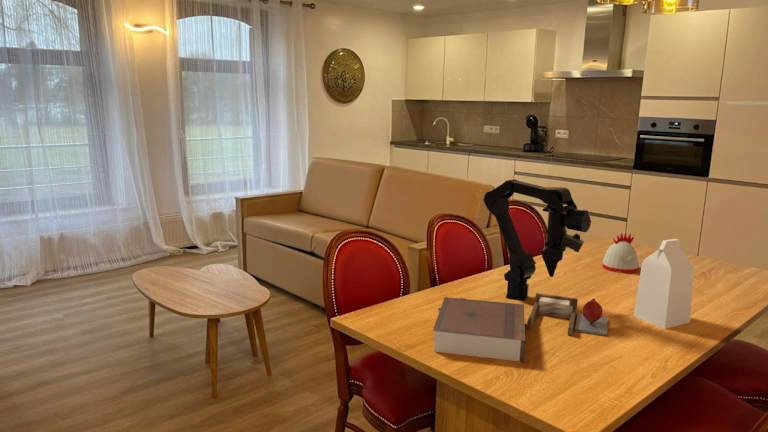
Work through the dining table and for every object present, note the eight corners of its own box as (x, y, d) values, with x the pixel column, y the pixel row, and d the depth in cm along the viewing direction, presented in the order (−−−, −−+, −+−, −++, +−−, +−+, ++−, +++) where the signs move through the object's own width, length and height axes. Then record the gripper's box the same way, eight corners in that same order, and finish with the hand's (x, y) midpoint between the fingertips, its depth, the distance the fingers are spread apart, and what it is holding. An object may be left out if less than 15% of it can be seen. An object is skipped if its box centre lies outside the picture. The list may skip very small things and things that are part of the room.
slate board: (574, 331, 173) (574, 328, 173) (577, 315, 186) (577, 313, 186) (606, 336, 170) (606, 333, 170) (607, 319, 183) (607, 317, 182)
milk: (664, 328, 176) (675, 246, 171) (633, 316, 186) (642, 237, 181) (690, 322, 182) (700, 242, 177) (658, 310, 192) (667, 234, 187)
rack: (526, 328, 174) (528, 313, 173) (535, 307, 192) (536, 292, 191) (571, 336, 169) (573, 319, 168) (576, 313, 188) (577, 298, 187)
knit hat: (643, 273, 233) (648, 237, 230) (609, 273, 233) (613, 236, 230) (629, 264, 246) (633, 229, 243) (597, 263, 246) (600, 229, 243)
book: (522, 324, 179) (523, 304, 178) (523, 364, 152) (525, 340, 151) (443, 316, 184) (444, 297, 183) (431, 353, 157) (432, 331, 156)
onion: (578, 319, 180) (580, 295, 179) (596, 319, 181) (598, 294, 179) (586, 326, 175) (588, 301, 173) (604, 326, 175) (607, 301, 173)
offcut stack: (536, 313, 186) (537, 300, 185) (537, 309, 190) (538, 296, 189) (571, 319, 182) (572, 305, 182) (572, 314, 186) (573, 301, 186)
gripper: (581, 235, 176) (576, 284, 179) (584, 223, 193) (580, 268, 196) (543, 231, 180) (539, 279, 183) (549, 220, 197) (546, 264, 200)
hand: (552, 272), depth 190 cm, fingers open, 9 cm apart
